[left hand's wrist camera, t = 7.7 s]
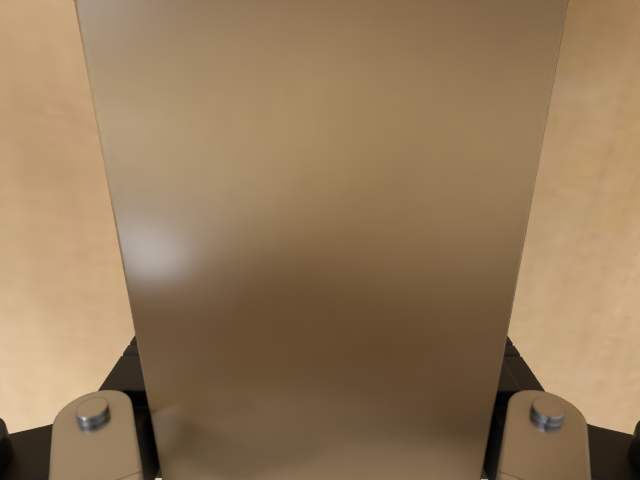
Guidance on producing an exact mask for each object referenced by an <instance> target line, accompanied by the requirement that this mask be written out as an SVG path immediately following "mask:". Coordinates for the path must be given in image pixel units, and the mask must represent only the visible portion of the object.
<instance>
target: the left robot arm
mask: <svg viewBox="0 0 640 480" xmlns="http://www.w3.org/2000/svg"><path fill="white" fill-rule="evenodd" d="M155 478H162V476H161V471H160V465H159V460H158V454H157V449H156V444H155V438H154V433H153V427H152V422H151V416H150V411H149V405H148V400H147V395H146V389H145V384H144V378H143V373H142V367H141V362H140V356H139V351H138V345H137V340H136V335H135V336H134V338H133V339H132V341H131V342H130V345H128V347H127V348H126V350H125V351H124V353H123V356H121V357H120V359H119V360H118V362H117V363H116V365H115V366H114V368H113V369H112V371H111V372H110V374H109V375H108V377H107V378H106V380H105V381H104V383H103V384H102V386H101V387H100V389H99V390H98V391H97V392H92V393H89V394H86V395H84V396H81V397H79V398H77V399H75V400H74V401H72V402H71V403H69V404H68V405H67V406H65V407H64V408H63V409H62V410H61V411H60V412H59V413H58V415H57V416H56V418H55V420H54V422H53V424H51V425H47V426H43V427H39V428H34V429H30V430H26V431H21V432H17V433H12V434H9V433H8V430H7V427H6V424H5V422H4V421H3V420H2V419H1V418H0V480H155ZM481 479H488V480H640V421H639V422H638V423H637V425H636V427H635V430H634V433H633V435H631V434H626V433H622V432H618V431H613V430H609V429H605V428H600V427H596V426H593V425H590V424H587V422H586V420H585V418H584V416H583V415H582V413H581V412H580V411H579V410H578V409H577V408H576V407H575V406H574V405H572V404H571V403H569V402H568V401H566V400H565V399H563V398H561V397H559V396H556V395H554V394H551V393H548V392H545V391H544V389H543V388H542V386H541V385H540V383H539V382H538V380H537V379H536V377H535V376H534V374H533V373H532V371H531V370H530V368H529V367H528V365H527V364H526V362H525V361H524V359H523V358H522V357H520V354H519V352H518V351H517V349H516V348H515V346H513V343H512V342H511V340H510V339H509V337H508V336H507V339H506V345H505V350H504V356H503V361H502V366H501V372H500V377H499V383H498V388H497V394H496V399H495V405H494V410H493V416H492V421H491V427H490V432H489V438H488V443H487V449H486V454H485V460H484V465H483V471H482V476H481Z"/></svg>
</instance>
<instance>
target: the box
mask: <svg viewBox="0 0 640 480" xmlns="http://www.w3.org/2000/svg"><path fill="white" fill-rule="evenodd" d="M74 2H75V8H76V13H77V18H78V24H79V29H80V35H81V40H82V46H83V51H84V57H85V62H86V68H87V73H88V78H89V84H90V89H91V95H92V100H93V106H94V111H95V117H96V122H97V127H98V133H99V138H100V144H101V149H102V155H103V160H104V166H105V171H106V177H107V182H108V187H109V193H110V198H111V204H112V209H113V215H114V220H115V226H116V231H117V236H118V242H119V247H120V253H121V258H122V264H123V269H124V275H125V280H126V286H127V291H128V296H129V302H130V307H131V313H132V318H133V324H134V329H135V335H136V340H137V345H138V351H139V356H140V362H141V367H142V373H143V378H144V384H145V389H146V395H147V400H148V405H149V411H150V416H151V422H152V427H153V433H154V438H155V444H156V449H157V454H158V460H159V465H160V471H161V476H162V480H481V476H482V471H483V465H484V460H485V454H486V449H487V443H488V438H489V432H490V427H491V421H492V416H493V410H494V405H495V399H496V394H497V388H498V383H499V377H500V372H501V366H502V361H503V356H504V350H505V345H506V339H507V334H508V328H509V323H510V317H511V312H512V306H513V301H514V295H515V290H516V284H517V279H518V273H519V268H520V262H521V257H522V251H523V246H524V241H525V235H526V230H527V224H528V219H529V213H530V208H531V202H532V197H533V191H534V186H535V180H536V175H537V169H538V164H539V158H540V153H541V147H542V142H543V136H544V131H545V125H546V120H547V115H548V109H549V104H550V98H551V93H552V87H553V82H554V76H555V71H556V65H557V60H558V54H559V49H560V43H561V38H562V32H563V27H564V21H565V16H566V10H567V5H568V0H74Z"/></svg>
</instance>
